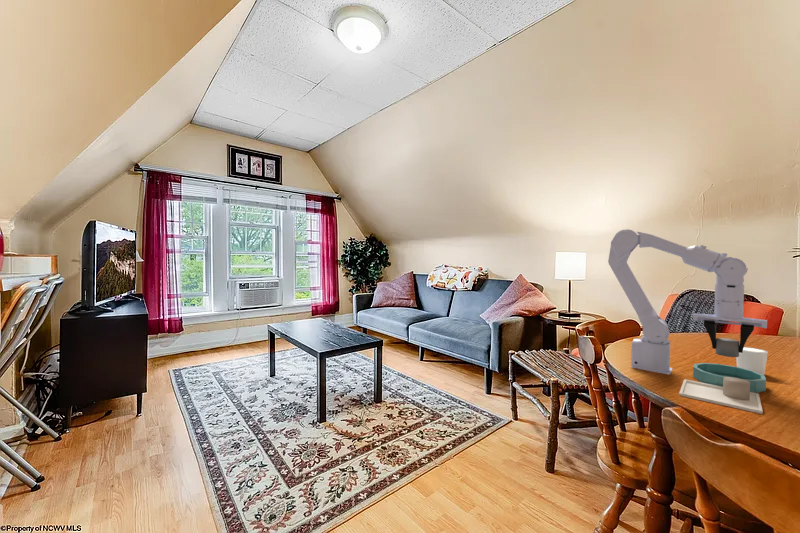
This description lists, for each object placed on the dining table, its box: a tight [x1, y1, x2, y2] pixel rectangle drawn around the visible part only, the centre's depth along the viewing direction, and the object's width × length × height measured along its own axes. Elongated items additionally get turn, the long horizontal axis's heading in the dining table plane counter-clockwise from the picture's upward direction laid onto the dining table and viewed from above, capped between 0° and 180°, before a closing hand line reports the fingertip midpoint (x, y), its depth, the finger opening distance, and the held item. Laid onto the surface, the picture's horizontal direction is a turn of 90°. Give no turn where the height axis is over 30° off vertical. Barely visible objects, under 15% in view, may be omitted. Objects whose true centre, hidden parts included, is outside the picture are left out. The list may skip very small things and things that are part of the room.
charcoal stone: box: [715, 337, 740, 358], centre depth 93 cm, size 5×5×4 cm
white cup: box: [735, 346, 769, 376], centre depth 101 cm, size 7×7×7 cm
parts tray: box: [678, 378, 764, 415], centre depth 83 cm, size 14×13×1 cm
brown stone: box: [723, 377, 750, 400], centre depth 82 cm, size 5×5×4 cm
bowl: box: [692, 362, 767, 394], centre depth 92 cm, size 14×14×4 cm
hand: (727, 349), depth 93 cm, fingers closed on charcoal stone, 5 cm apart
